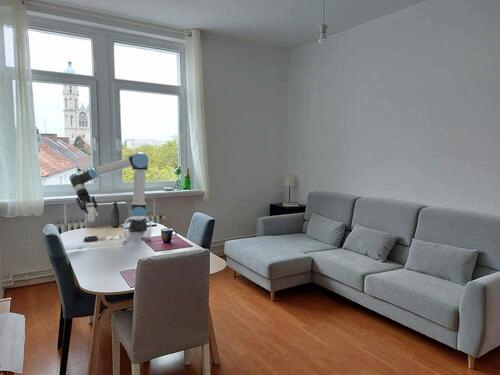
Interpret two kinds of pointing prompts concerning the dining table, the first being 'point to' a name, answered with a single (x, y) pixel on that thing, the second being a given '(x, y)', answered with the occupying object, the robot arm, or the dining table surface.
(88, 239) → the cable board
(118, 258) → the dining table surface
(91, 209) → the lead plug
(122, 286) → the dining table surface
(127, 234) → the headset
